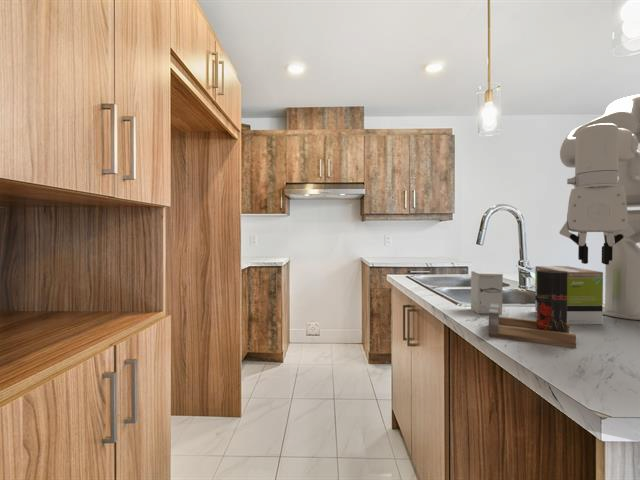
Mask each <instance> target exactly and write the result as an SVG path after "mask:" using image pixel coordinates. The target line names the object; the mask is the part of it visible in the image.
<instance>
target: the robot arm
mask: <svg viewBox="0 0 640 480" xmlns="http://www.w3.org/2000/svg"><path fill="white" fill-rule="evenodd" d="M639 144H640V93H639V94H635V95H631V96H627V97H626V96H625V97H623V98H620V99H617V100H614V101H613V102H611V103H610V104H609V105H608V106H607V107H606V108H605V109H604V111H603V113H602V114H601V116H599V117H598V118H596V119H593V120H591V121H589V122H586V123H585V124H583V125H581V126H579V127H576V128H574V129H573V130H571V131H570V132H568V134H567V135H566V137H565V139H564V140H563V142H562V143H561V146H560V150H559V158H560V162H561V163H562V165H563V166H565V167H566V168H575V170H574V171H575V172H574V173H575V174H574V176H573V177H571V178H567V180H566V184H567V185H572V186H573V187H574V188H572V189H570V194H569V199H568V204H567V205H568V206H567V213H566V214H567V215H566V217H567V218H566V221H565V223H564V224H563V226H562V227H561V229H560V230H559V232H558V233H559V235H561V236H563V237H566V238H568V239H570V240H571V241H572V242H573V243H575V244H576V245H577V246H578V250H577V251H578V257H577V258H578V260H579V261H581V264H584V265H587V264H588V263H589V246H588V245H587V243H586V241H587V234H588V233H602V234H603V240H604V243H603V245H602V246H601V264H602V265H603V264H604V265H605V268H604V269H605V272H604V273H605V274H604V275H605V277H604V279H605V281H604V282H605V283H604V284H605V285H604V289H605V290H604V306H603V310H602V313H603V315H605V316H608V317H612V318H619V319H626V320H635V321H640V246H638V245H637V244H638V243H639V244H640V209H631V210H629V209H628V208H640V150H639V149H638V148H639ZM572 232H574V233H577V234H574V233H572Z"/></svg>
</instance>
